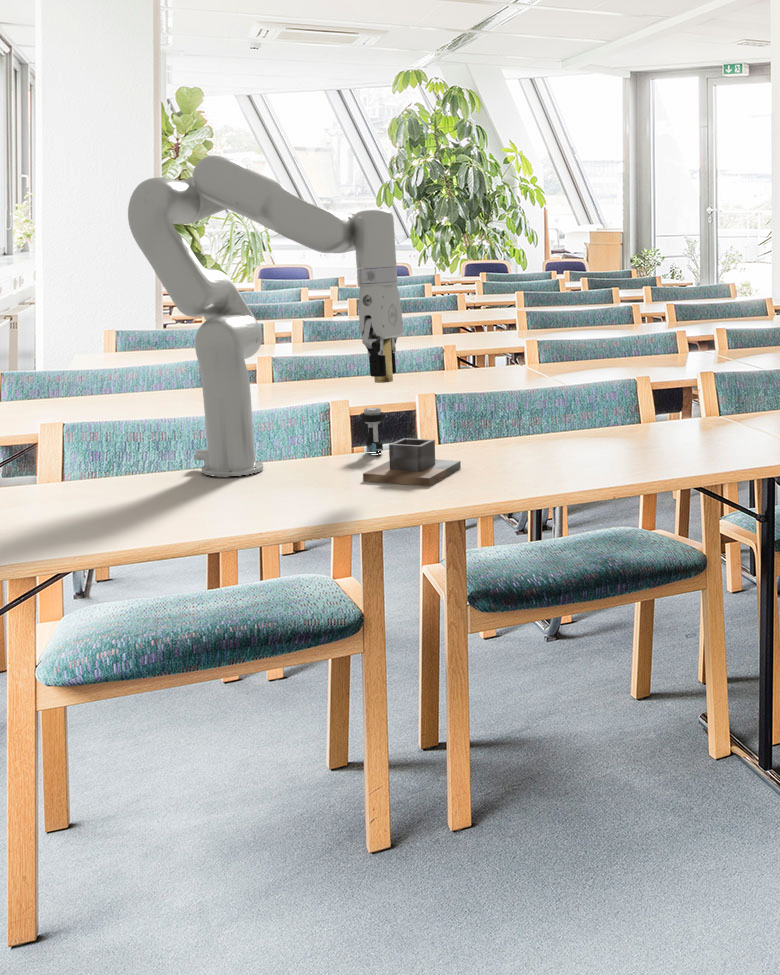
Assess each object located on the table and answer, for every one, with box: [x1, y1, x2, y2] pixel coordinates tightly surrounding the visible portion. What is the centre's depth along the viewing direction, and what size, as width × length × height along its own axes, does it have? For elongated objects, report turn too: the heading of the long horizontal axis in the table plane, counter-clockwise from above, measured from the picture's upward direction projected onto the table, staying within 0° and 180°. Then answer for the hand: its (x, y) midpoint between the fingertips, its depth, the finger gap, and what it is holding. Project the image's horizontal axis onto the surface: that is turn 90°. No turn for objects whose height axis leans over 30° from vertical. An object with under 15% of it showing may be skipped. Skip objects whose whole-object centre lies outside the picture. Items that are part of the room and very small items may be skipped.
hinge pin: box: [372, 335, 394, 384], centre depth 180 cm, size 4×4×9 cm
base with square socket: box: [362, 437, 461, 487], centre depth 184 cm, size 14×16×6 cm
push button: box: [359, 407, 385, 456], centre depth 204 cm, size 7×5×10 cm
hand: (383, 373), depth 181 cm, fingers closed on hinge pin, 3 cm apart
